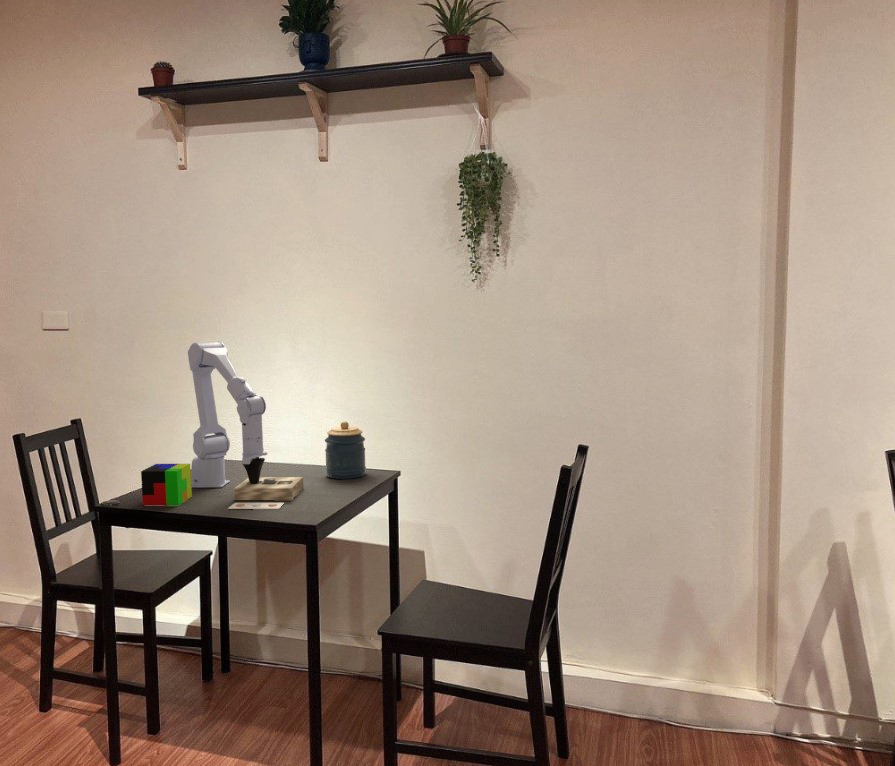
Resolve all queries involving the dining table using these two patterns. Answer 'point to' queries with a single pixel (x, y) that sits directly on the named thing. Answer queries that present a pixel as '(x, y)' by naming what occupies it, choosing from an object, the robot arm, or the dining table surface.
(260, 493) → the button board
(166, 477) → the puzzle toy
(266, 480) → the middle button
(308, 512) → the dining table surface
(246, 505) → the card
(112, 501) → the dining table surface
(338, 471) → the canister
